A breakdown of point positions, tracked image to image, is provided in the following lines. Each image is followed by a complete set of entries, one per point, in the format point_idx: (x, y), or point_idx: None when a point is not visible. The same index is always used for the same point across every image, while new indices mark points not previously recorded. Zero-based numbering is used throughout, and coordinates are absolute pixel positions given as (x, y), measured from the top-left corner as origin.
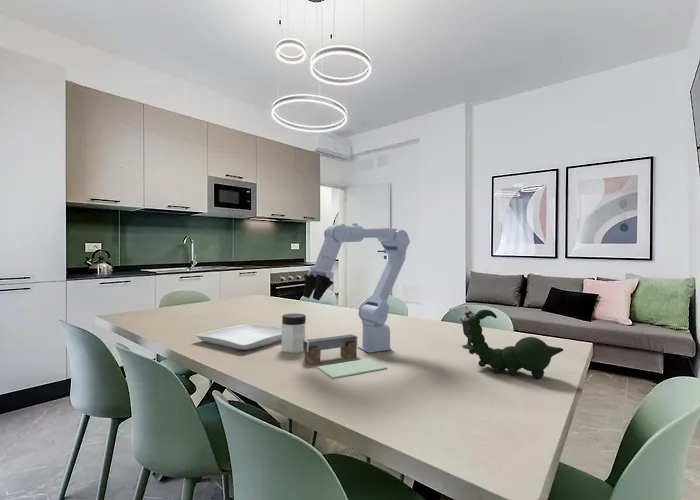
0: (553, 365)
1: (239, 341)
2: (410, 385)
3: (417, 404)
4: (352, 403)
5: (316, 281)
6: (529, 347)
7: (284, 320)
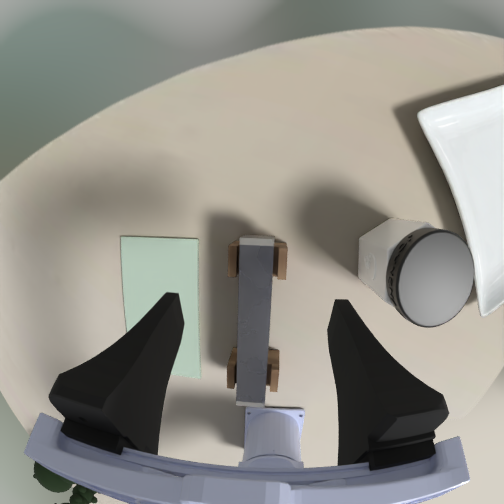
0: (96, 497)
1: (499, 158)
2: (58, 334)
3: (15, 290)
4: (36, 212)
5: (123, 367)
6: (36, 467)
7: (426, 229)
